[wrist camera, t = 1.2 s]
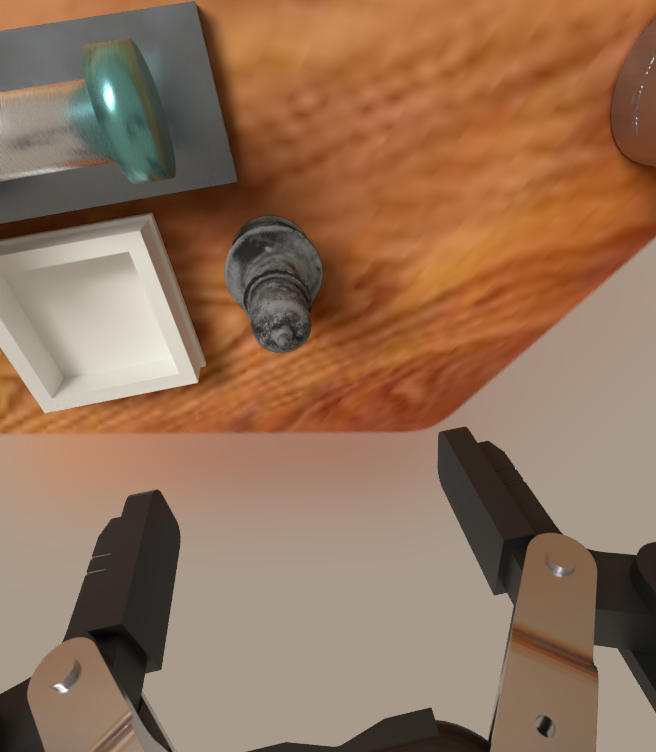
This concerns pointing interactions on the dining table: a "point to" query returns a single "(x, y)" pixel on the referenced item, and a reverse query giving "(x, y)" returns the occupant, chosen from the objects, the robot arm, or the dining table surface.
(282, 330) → the dark grey turned piece
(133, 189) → the bearing block
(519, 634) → the robot arm
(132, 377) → the holder
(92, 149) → the shaft
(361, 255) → the dining table surface
